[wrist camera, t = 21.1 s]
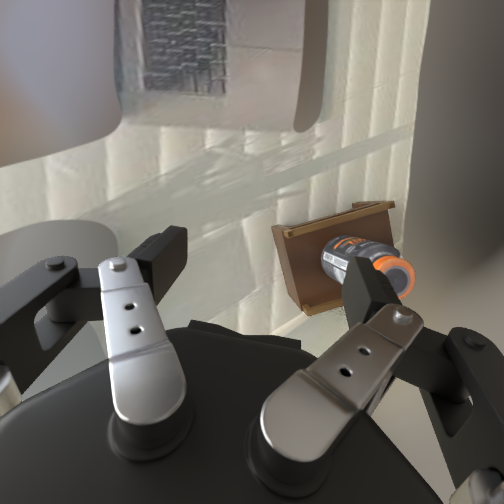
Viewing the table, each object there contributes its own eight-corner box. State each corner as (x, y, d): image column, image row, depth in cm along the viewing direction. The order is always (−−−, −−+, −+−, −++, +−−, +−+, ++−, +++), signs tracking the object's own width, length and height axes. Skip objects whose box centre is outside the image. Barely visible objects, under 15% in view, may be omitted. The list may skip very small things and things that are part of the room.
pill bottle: (363, 232, 36) (428, 244, 25) (364, 276, 37) (427, 307, 26) (318, 237, 35) (364, 252, 24) (321, 282, 36) (365, 316, 25)
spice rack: (271, 226, 41) (285, 232, 32) (359, 201, 42) (395, 200, 33) (288, 294, 43) (306, 317, 35) (372, 269, 44) (410, 285, 35)
